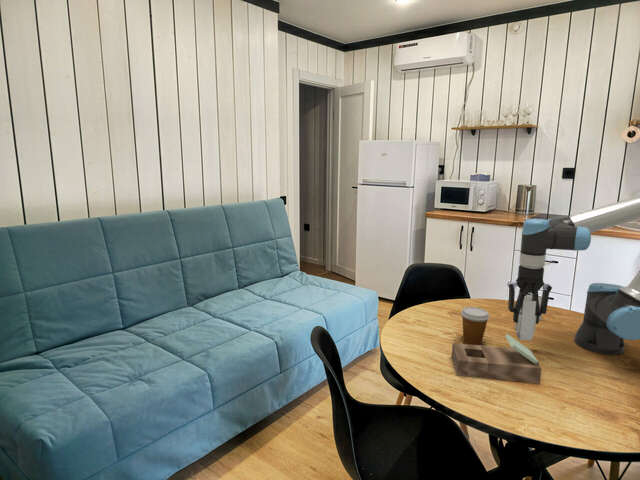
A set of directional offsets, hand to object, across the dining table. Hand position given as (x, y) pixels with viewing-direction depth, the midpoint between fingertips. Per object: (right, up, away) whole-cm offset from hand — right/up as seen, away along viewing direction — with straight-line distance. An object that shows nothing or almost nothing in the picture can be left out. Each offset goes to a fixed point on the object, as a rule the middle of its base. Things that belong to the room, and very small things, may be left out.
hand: (524, 331), depth 142 cm
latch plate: (-7, -3, -13) cm, 15 cm away
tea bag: (+19, -2, +32) cm, 37 cm away
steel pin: (0, -2, 0) cm, 2 cm away
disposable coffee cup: (-15, -6, +9) cm, 18 cm away
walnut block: (-15, -10, -10) cm, 20 cm away
